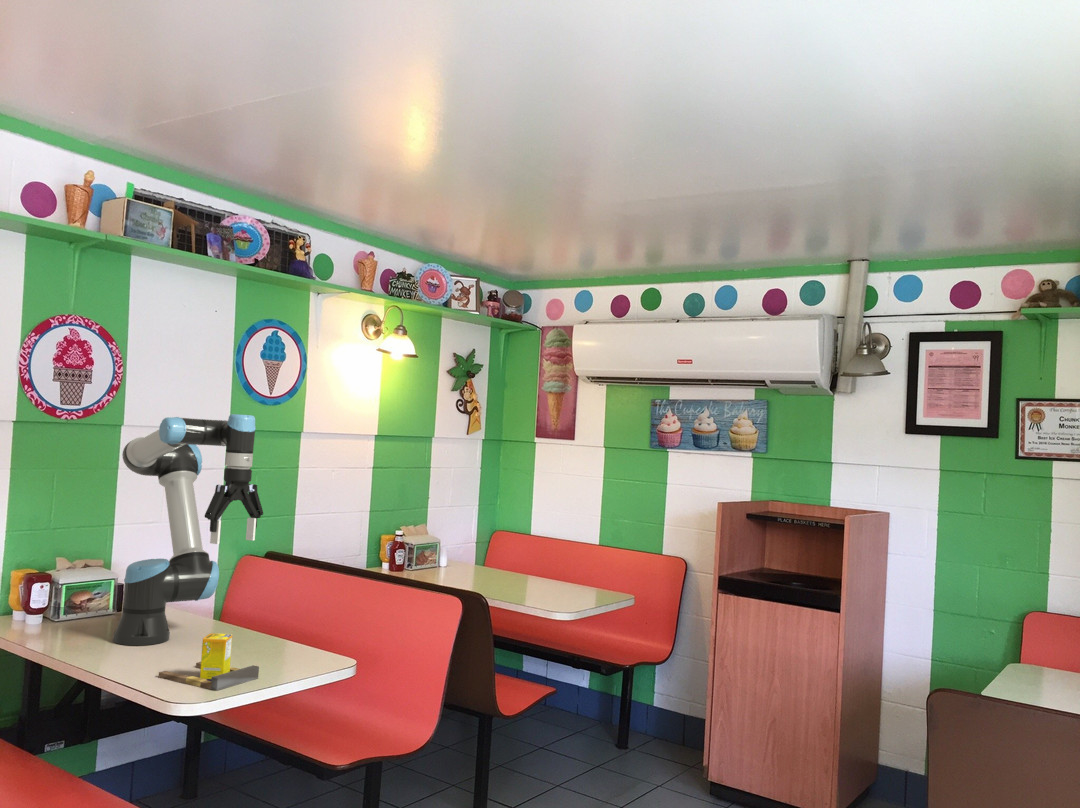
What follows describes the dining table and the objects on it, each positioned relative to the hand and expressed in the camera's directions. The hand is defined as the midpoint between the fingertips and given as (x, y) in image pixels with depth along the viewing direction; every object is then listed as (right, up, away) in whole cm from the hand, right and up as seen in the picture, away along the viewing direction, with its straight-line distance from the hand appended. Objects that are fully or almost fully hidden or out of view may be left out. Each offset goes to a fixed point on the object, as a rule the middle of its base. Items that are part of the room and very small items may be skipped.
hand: (232, 542), depth 245 cm
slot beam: (+2, -31, -26) cm, 40 cm away
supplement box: (+5, -31, -27) cm, 41 cm away
